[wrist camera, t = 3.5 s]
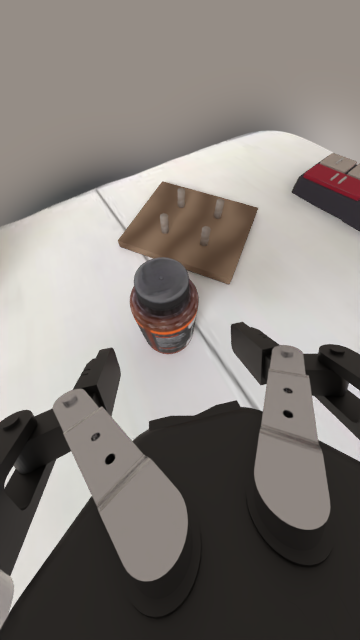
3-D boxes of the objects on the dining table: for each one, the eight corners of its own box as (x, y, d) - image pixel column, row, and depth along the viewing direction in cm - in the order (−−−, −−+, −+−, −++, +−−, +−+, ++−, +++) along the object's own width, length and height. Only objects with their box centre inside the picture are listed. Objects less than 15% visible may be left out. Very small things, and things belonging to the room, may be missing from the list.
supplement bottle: (201, 337, 23) (221, 287, 13) (162, 365, 22) (147, 334, 11) (174, 303, 25) (172, 235, 14) (136, 326, 23) (104, 270, 13)
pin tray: (120, 246, 29) (112, 226, 25) (162, 188, 35) (161, 165, 31) (229, 284, 26) (236, 267, 23) (255, 214, 32) (264, 192, 29)
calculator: (332, 149, 35) (420, 181, 30) (317, 175, 39) (393, 207, 34) (300, 171, 32) (391, 211, 27) (287, 197, 36) (365, 236, 31)
